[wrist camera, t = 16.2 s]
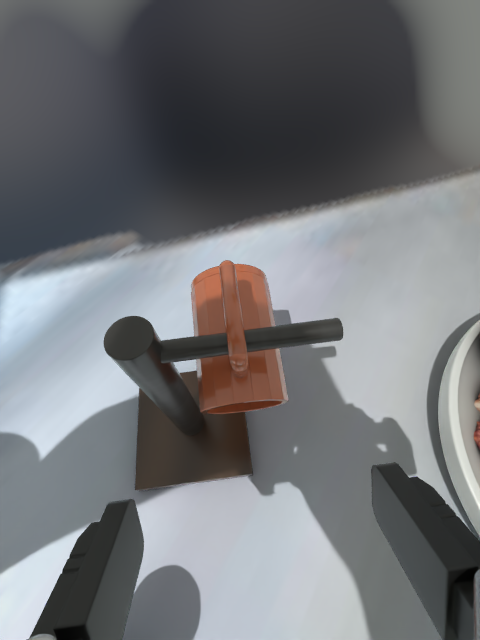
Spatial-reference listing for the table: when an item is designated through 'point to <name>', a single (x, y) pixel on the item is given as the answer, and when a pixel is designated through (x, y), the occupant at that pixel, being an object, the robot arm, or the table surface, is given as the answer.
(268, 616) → the table surface
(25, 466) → the table surface
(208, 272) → the mug
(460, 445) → the bowl
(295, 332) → the hook stand
